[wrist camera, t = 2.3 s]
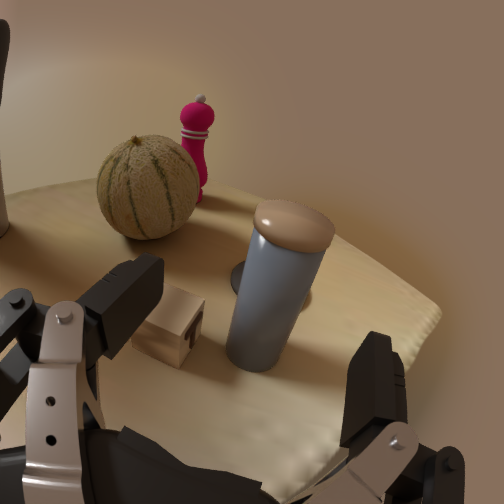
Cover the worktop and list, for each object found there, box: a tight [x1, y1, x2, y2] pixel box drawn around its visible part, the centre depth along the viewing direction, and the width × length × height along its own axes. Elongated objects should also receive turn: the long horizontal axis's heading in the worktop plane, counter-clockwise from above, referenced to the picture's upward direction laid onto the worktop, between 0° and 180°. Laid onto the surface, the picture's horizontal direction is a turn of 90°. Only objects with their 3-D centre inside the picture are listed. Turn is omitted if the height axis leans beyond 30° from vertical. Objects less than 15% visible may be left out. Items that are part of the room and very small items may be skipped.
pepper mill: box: [180, 94, 214, 203], centre depth 49 cm, size 7×7×20 cm
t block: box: [131, 283, 205, 369], centre depth 25 cm, size 5×5×5 cm
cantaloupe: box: [97, 135, 200, 240], centre depth 38 cm, size 15×15×15 cm
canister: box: [226, 200, 335, 372], centre depth 24 cm, size 6×6×15 cm
